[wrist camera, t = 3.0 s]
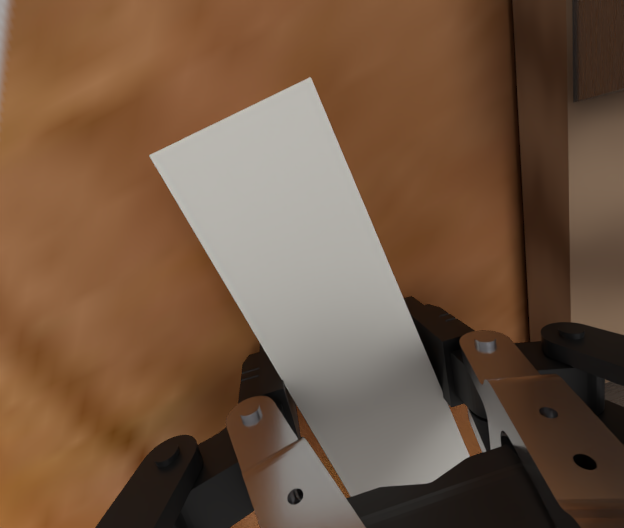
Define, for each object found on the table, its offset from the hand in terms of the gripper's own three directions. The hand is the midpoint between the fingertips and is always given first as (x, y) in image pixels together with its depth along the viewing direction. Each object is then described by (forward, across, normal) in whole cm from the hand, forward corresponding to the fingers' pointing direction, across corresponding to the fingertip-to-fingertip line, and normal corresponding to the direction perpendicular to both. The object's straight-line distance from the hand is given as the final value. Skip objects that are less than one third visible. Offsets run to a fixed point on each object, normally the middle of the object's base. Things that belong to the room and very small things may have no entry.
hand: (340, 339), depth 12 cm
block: (+1, 0, 0) cm, 1 cm away
